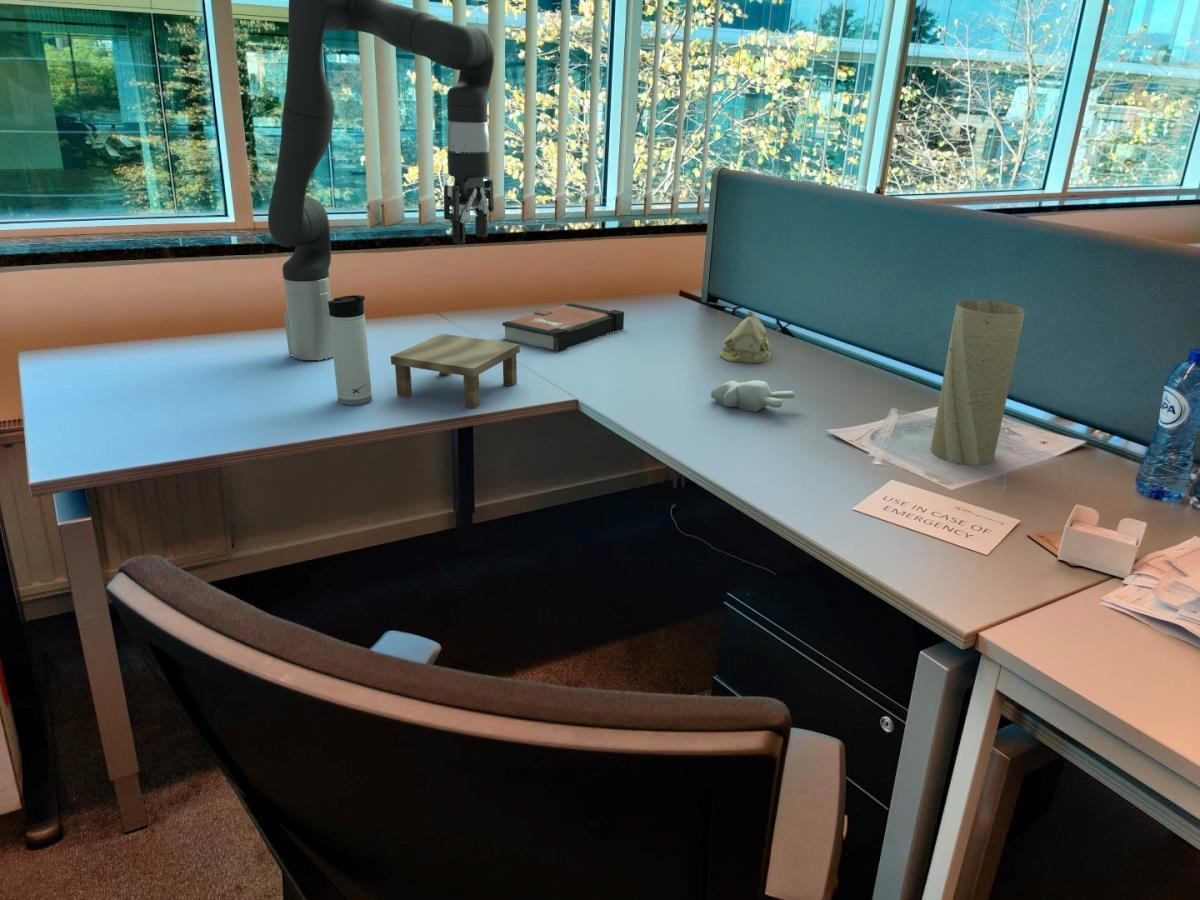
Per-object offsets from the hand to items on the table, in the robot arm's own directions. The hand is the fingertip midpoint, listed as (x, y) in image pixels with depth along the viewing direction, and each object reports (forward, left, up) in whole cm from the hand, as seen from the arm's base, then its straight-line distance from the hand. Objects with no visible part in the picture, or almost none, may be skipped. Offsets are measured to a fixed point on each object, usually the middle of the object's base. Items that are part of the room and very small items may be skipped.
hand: (470, 239), depth 163 cm
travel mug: (-16, -18, -29) cm, 37 cm away
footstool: (-2, -4, -29) cm, 29 cm away
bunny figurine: (+53, +11, -29) cm, 62 cm away
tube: (+91, +4, -29) cm, 96 cm away
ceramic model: (+44, +46, -29) cm, 70 cm away
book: (-1, +43, -29) cm, 53 cm away
